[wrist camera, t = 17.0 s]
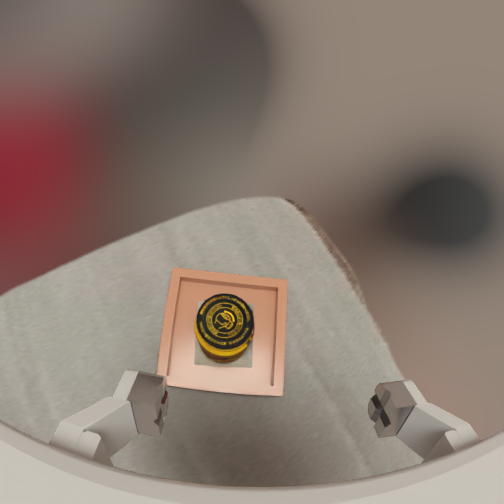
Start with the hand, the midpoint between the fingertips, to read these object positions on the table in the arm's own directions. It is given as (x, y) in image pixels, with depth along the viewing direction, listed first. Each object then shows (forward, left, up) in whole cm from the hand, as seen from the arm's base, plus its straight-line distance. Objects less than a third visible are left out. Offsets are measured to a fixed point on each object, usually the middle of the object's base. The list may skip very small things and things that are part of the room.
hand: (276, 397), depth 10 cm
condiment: (+7, +2, -27) cm, 28 cm away
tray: (+7, +2, -28) cm, 29 cm away
